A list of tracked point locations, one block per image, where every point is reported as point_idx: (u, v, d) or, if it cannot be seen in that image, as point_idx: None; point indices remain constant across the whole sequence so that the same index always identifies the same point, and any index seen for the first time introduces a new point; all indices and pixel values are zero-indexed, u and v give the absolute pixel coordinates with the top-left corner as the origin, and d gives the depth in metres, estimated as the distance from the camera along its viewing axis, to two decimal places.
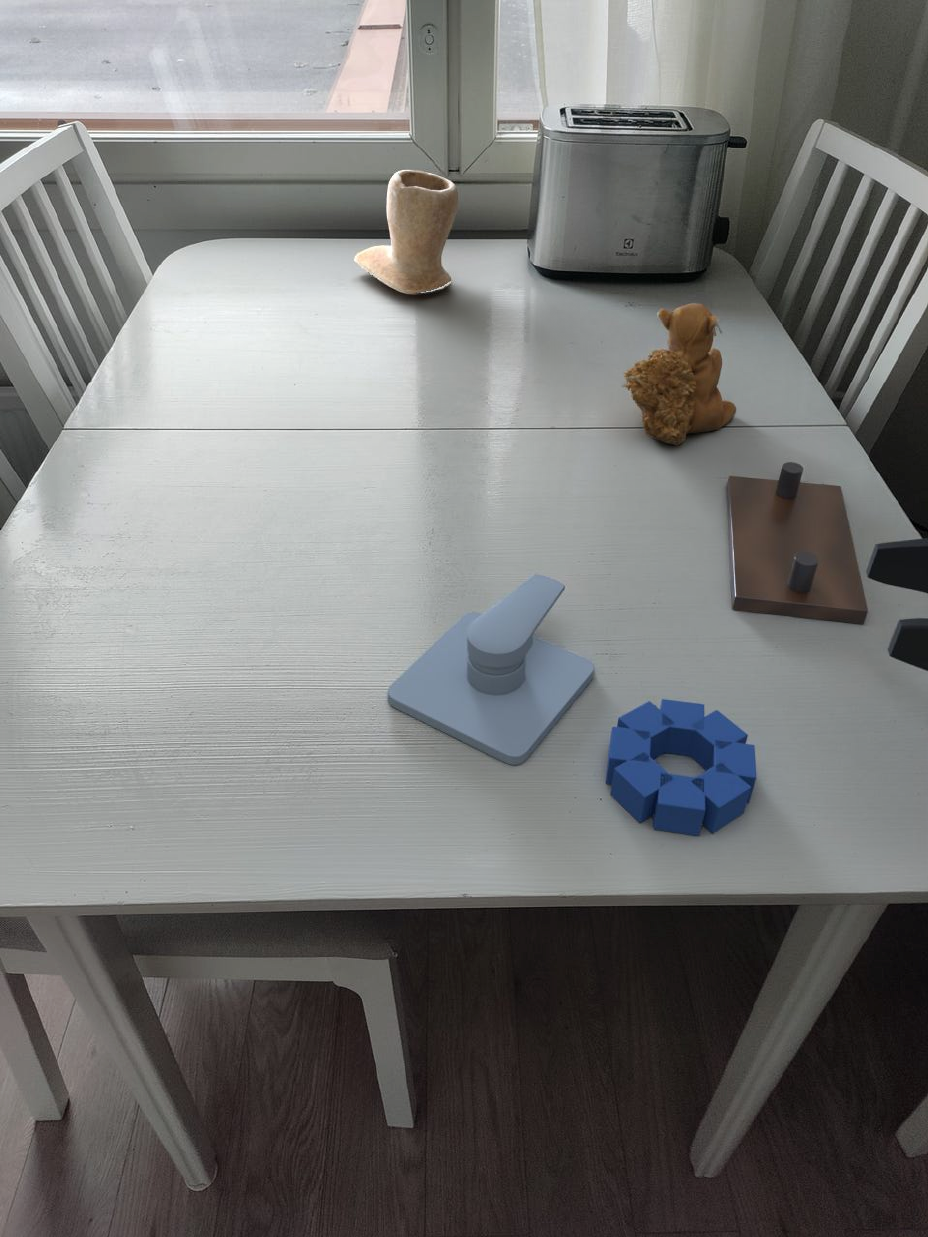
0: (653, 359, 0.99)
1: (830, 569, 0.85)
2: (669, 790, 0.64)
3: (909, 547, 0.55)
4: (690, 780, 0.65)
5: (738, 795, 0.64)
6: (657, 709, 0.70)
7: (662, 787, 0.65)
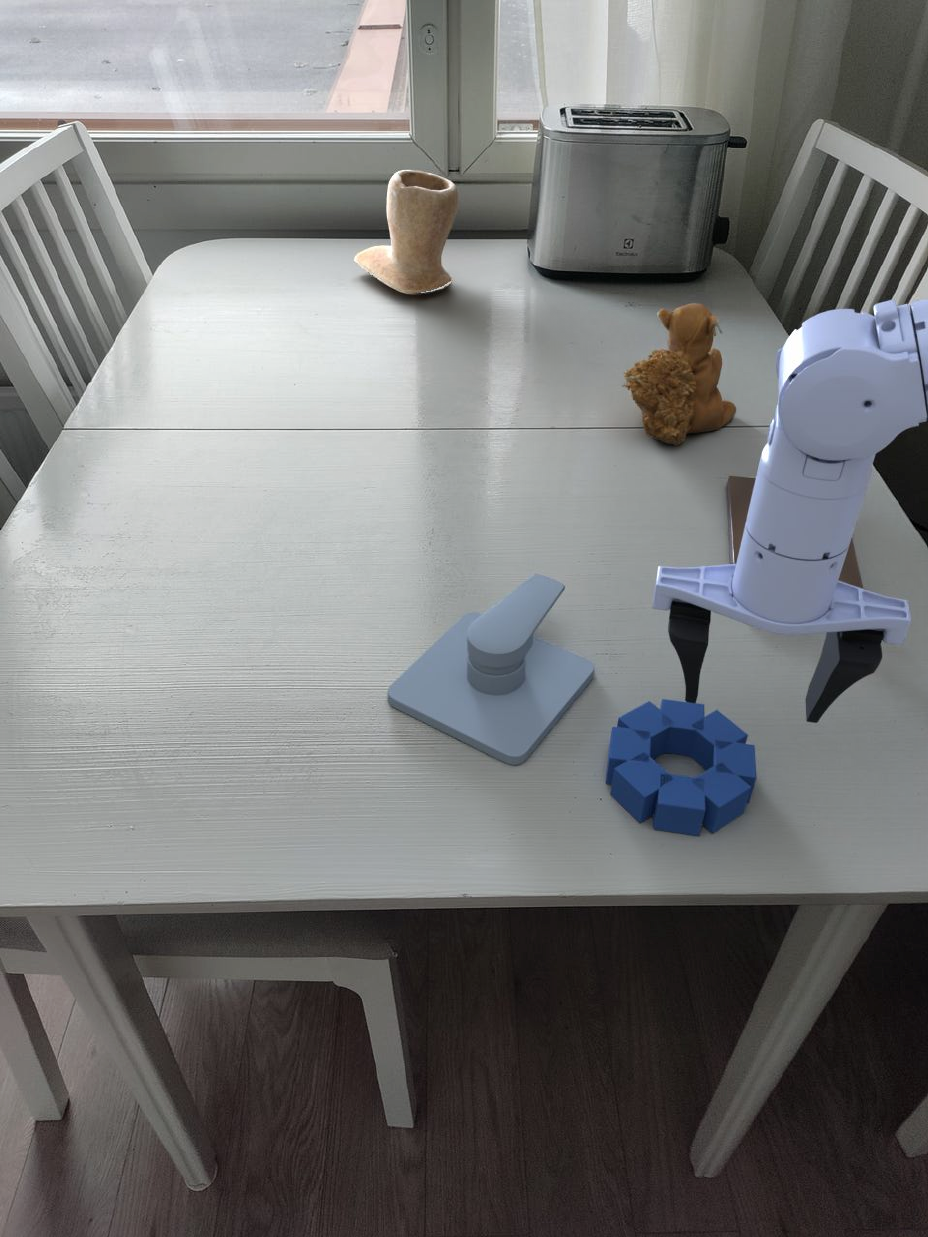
0: (653, 359, 0.99)
1: None
2: (669, 790, 0.64)
3: (812, 677, 0.62)
4: (690, 780, 0.65)
5: (738, 795, 0.64)
6: (657, 709, 0.70)
7: (662, 787, 0.65)
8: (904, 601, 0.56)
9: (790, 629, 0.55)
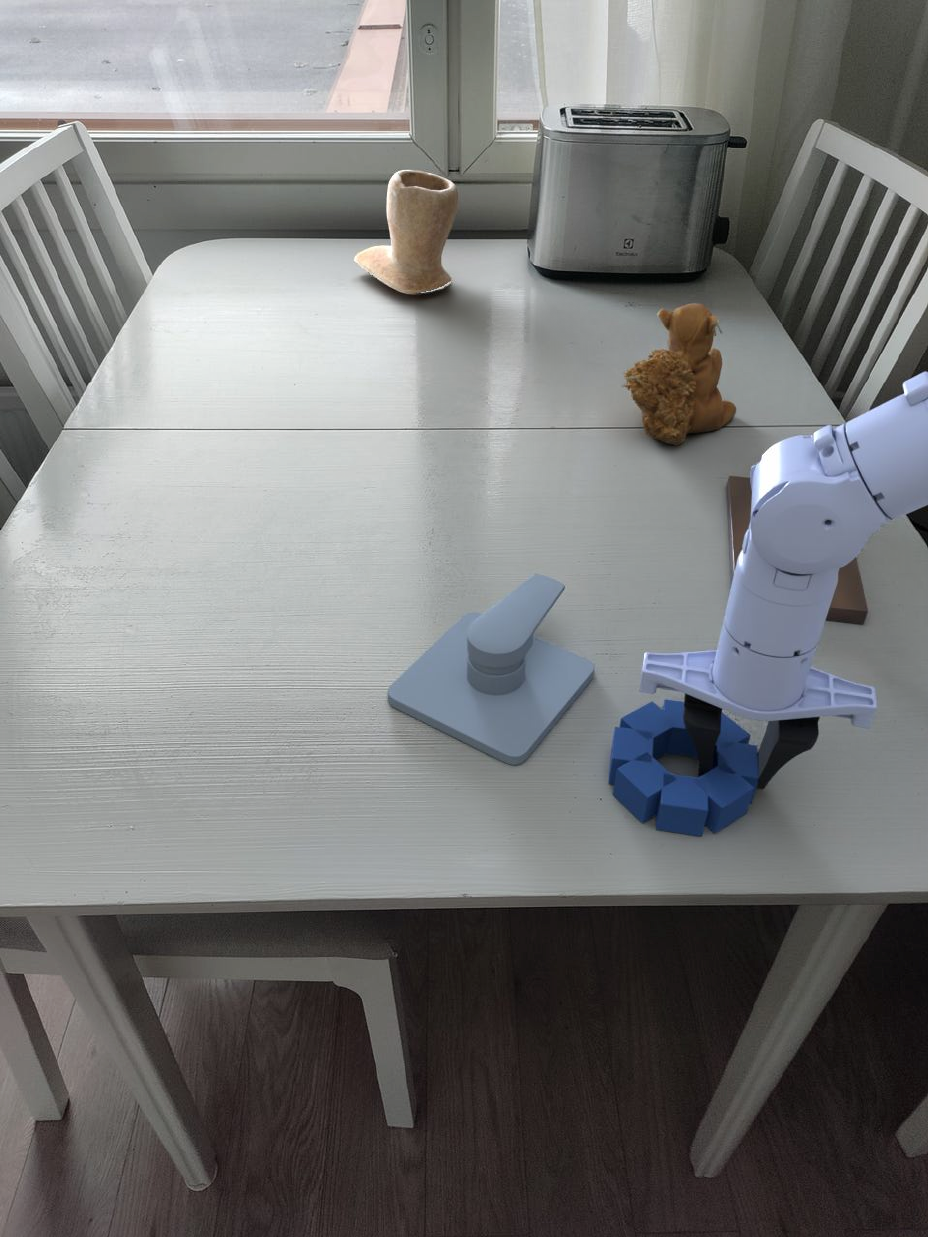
0: (653, 359, 0.99)
1: None
2: (672, 790, 0.64)
3: None
4: (693, 781, 0.65)
5: (741, 795, 0.64)
6: (660, 709, 0.70)
7: (665, 787, 0.64)
8: (871, 688, 0.61)
9: (765, 716, 0.59)
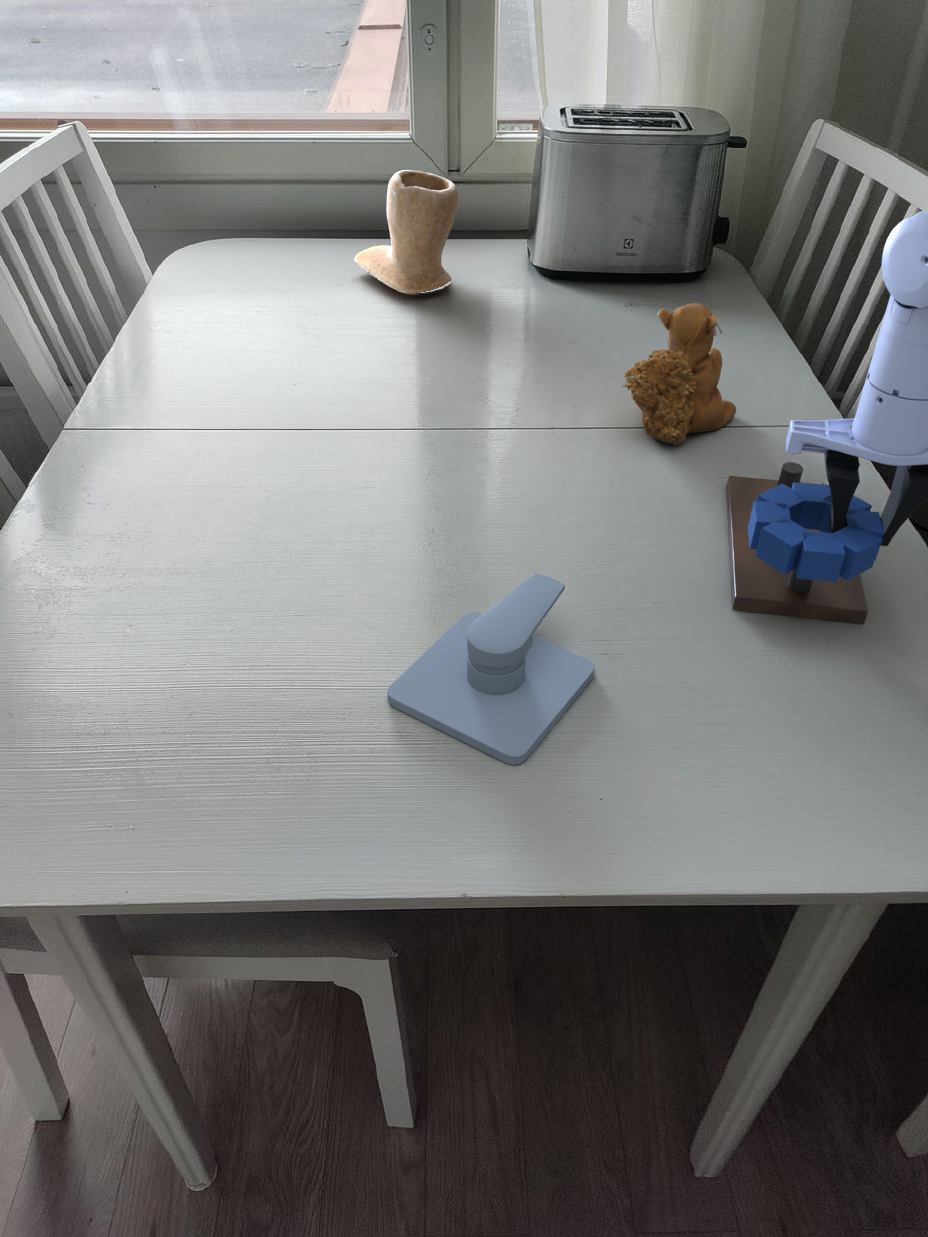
0: (653, 359, 0.99)
1: None
2: (812, 541, 0.75)
3: (882, 512, 0.78)
4: (829, 535, 0.76)
5: (871, 544, 0.75)
6: (790, 489, 0.81)
7: (806, 539, 0.75)
8: None
9: (901, 460, 0.70)
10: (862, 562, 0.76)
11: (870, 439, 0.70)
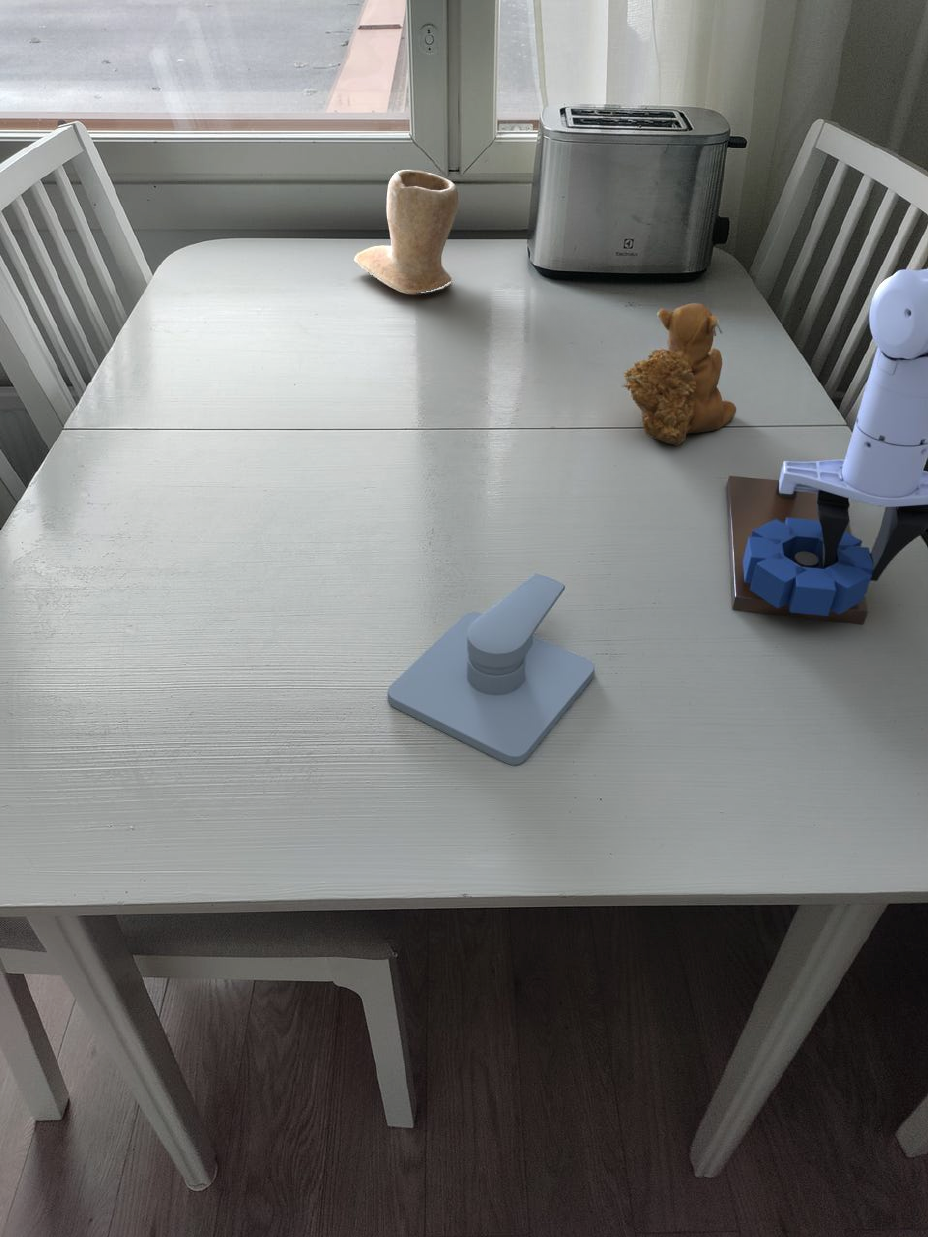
0: (653, 359, 0.99)
1: None
2: (804, 577, 0.78)
3: None
4: (820, 571, 0.79)
5: (861, 580, 0.78)
6: (784, 524, 0.84)
7: (798, 575, 0.78)
8: None
9: (889, 502, 0.73)
10: (852, 597, 0.79)
11: (859, 481, 0.74)
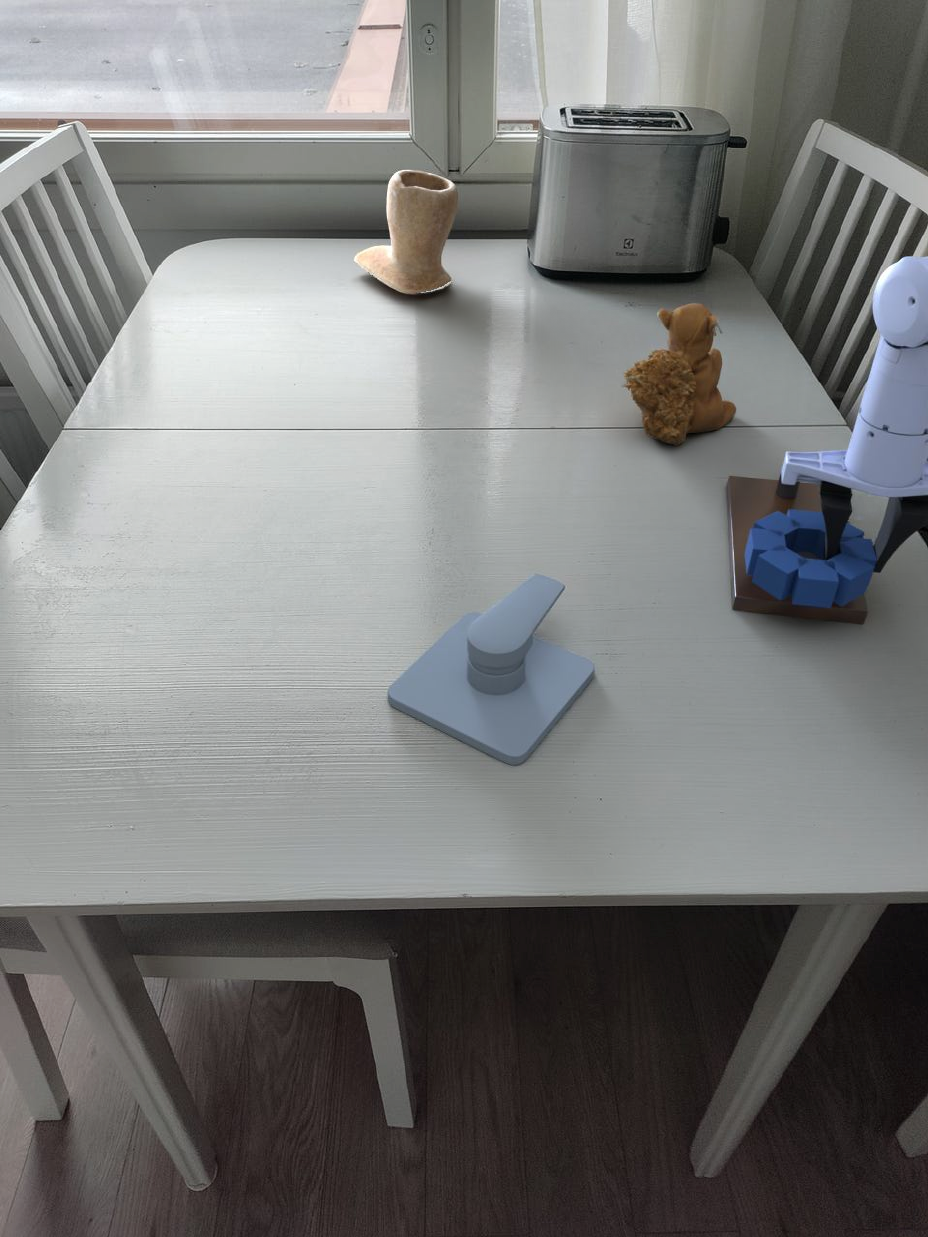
0: (653, 359, 0.99)
1: None
2: (807, 569, 0.78)
3: None
4: (823, 563, 0.78)
5: (864, 571, 0.77)
6: (786, 516, 0.83)
7: (801, 567, 0.78)
8: None
9: (892, 492, 0.73)
10: (855, 588, 0.78)
11: (862, 471, 0.73)
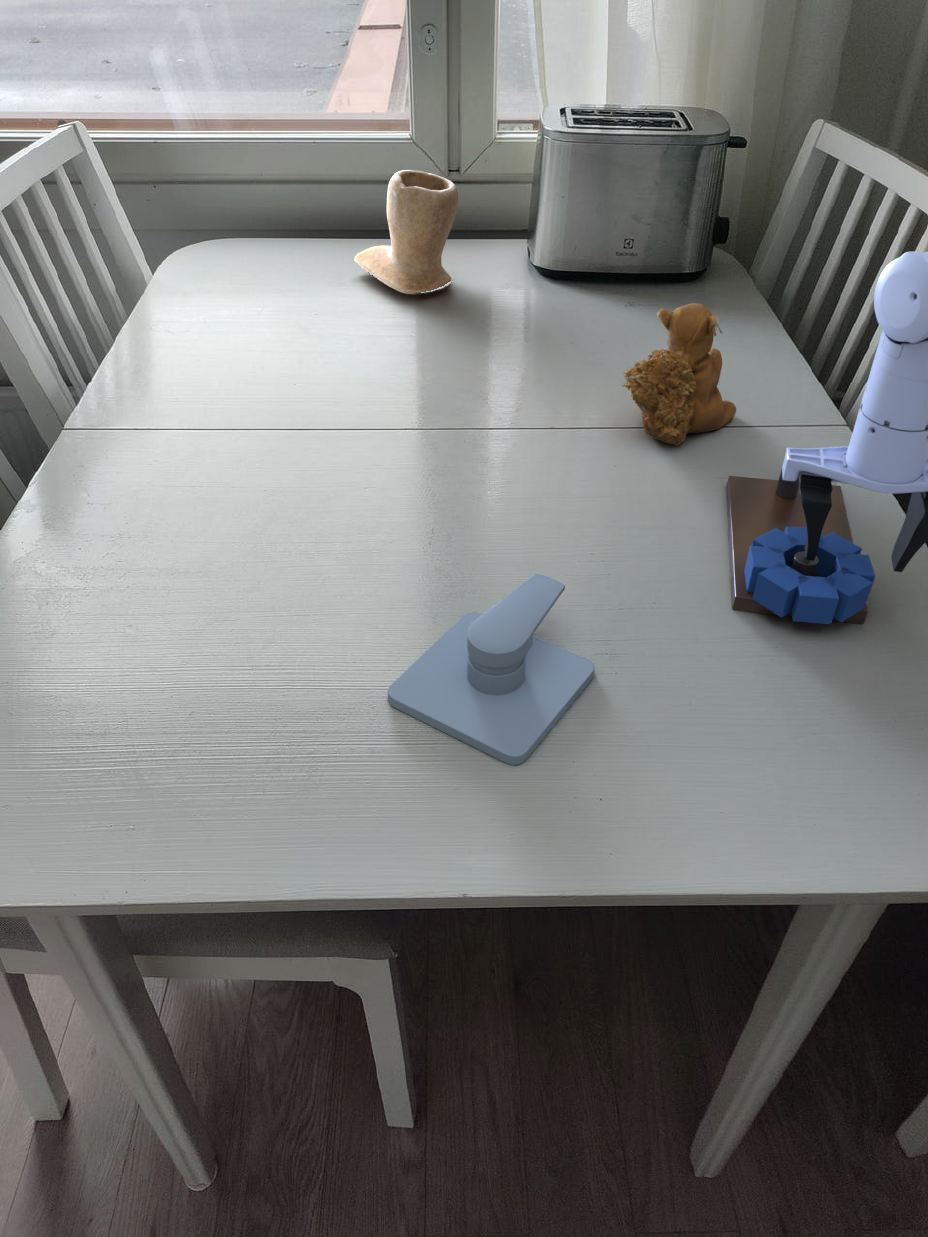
0: (653, 359, 0.99)
1: None
2: (807, 586, 0.79)
3: (897, 538, 0.80)
4: (822, 580, 0.80)
5: (863, 588, 0.79)
6: (784, 533, 0.85)
7: (801, 584, 0.79)
8: None
9: (893, 488, 0.72)
10: (854, 605, 0.79)
11: (863, 468, 0.73)
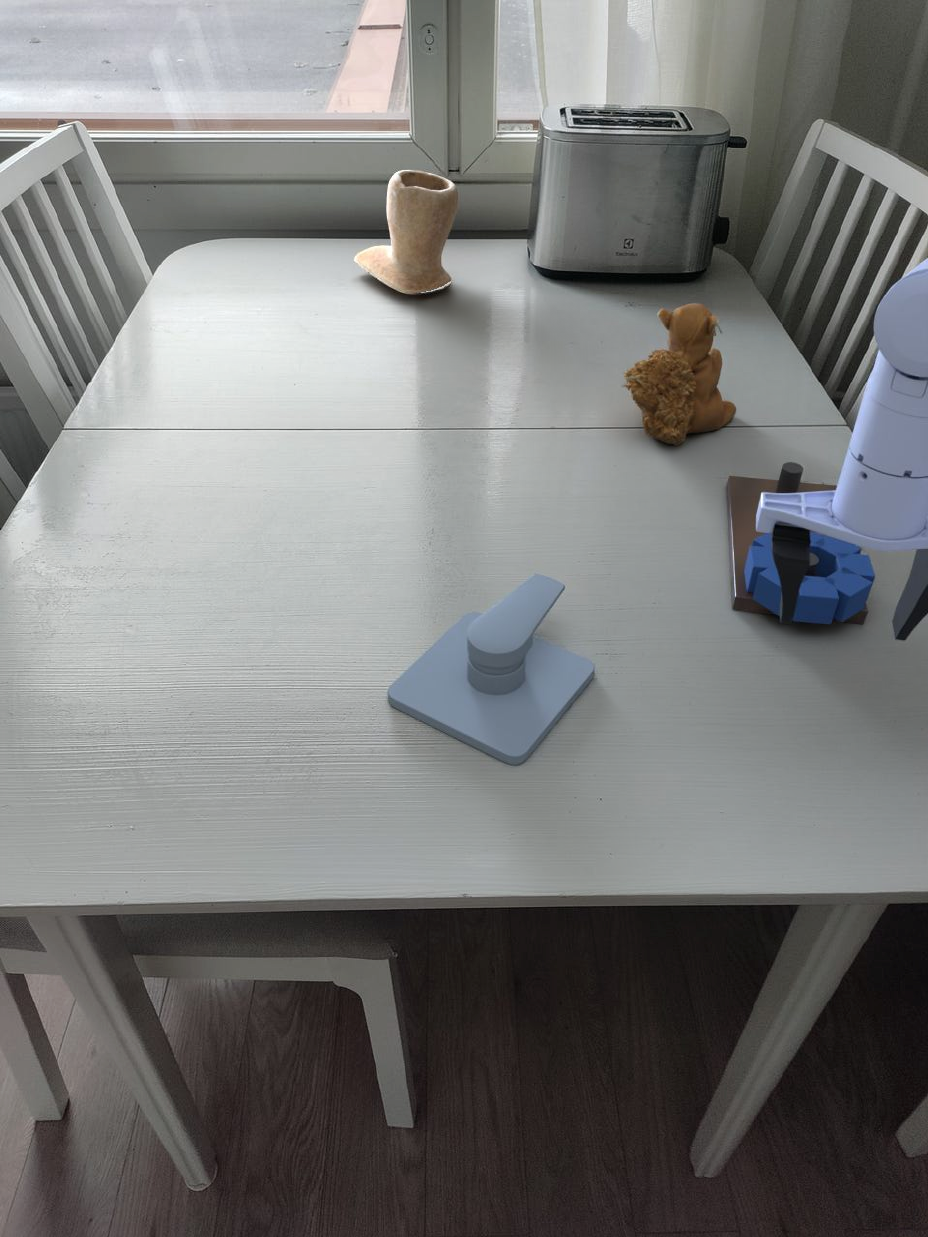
0: (653, 359, 0.99)
1: None
2: (807, 586, 0.79)
3: None
4: (822, 580, 0.80)
5: (863, 588, 0.79)
6: None
7: (801, 584, 0.79)
8: None
9: (890, 545, 0.59)
10: (854, 605, 0.79)
11: (853, 520, 0.60)
